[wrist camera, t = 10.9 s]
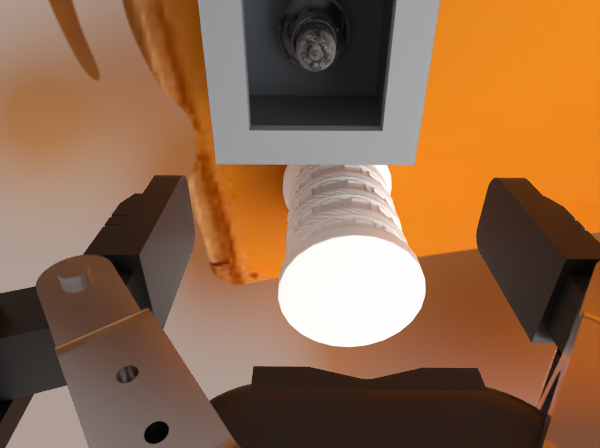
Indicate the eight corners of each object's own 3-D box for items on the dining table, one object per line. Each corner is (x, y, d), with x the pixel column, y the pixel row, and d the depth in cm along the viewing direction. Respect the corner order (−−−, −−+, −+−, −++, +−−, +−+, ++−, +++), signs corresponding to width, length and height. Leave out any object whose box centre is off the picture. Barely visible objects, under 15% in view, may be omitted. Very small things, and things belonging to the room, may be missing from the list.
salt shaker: (272, 50, 39) (261, 87, 29) (290, -21, 36) (284, -8, 26) (334, 69, 40) (344, 111, 30) (356, 1, 37) (375, 22, 27)
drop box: (228, -69, 35) (189, -77, 23) (402, -69, 35) (452, -77, 23) (240, 104, 42) (216, 164, 31) (383, 104, 42) (414, 165, 31)
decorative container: (377, 119, 43) (417, 212, 28) (398, 214, 49) (440, 333, 34) (268, 150, 45) (250, 253, 30) (300, 238, 51) (299, 362, 36)
